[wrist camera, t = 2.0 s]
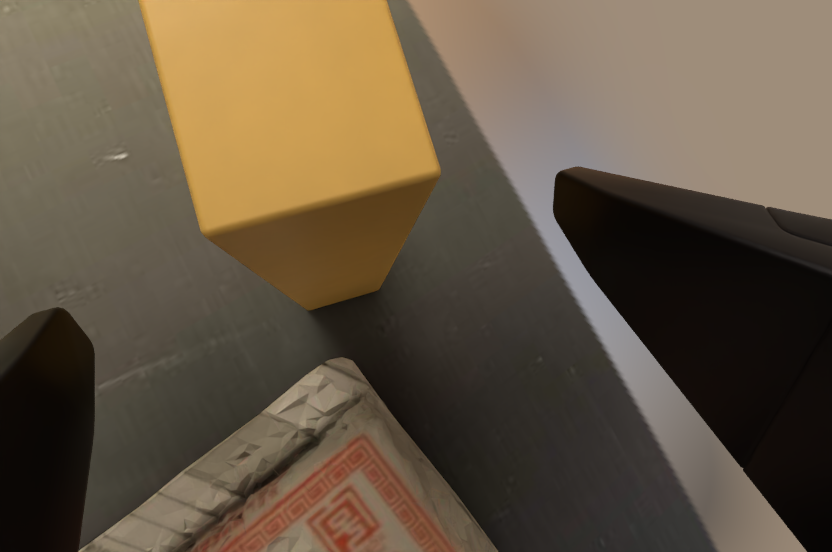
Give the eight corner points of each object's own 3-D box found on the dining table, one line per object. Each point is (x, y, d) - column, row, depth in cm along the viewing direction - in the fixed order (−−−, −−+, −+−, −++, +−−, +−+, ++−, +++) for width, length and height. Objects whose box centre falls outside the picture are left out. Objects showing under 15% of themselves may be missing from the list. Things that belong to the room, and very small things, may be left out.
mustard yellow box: (380, 290, 19) (444, 174, 6) (307, 311, 18) (201, 237, 5) (344, 170, 19) (329, -183, 6) (271, 188, 18) (94, -153, 6)
